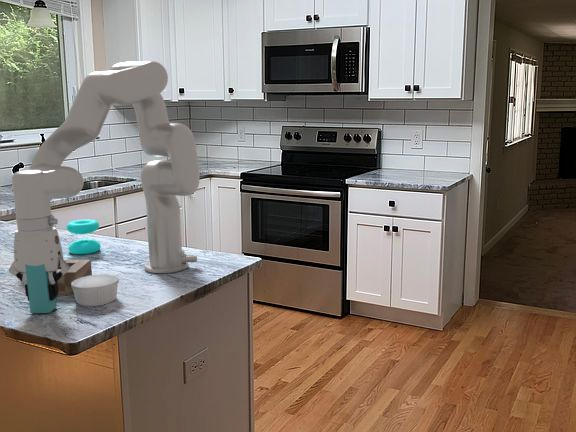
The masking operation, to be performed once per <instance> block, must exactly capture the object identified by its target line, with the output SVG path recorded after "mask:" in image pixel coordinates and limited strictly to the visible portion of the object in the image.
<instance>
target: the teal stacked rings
mask: <svg viewBox="0 0 576 432" xmlns="http://www.w3.org/2000/svg"><path fill="white" fill-rule="evenodd" d="M99 223H100V222H98V221H97V220H95V219H88V218H86V219H83V218H82V219H77V220H72V221H69V222H68V223H67V225H66V230H67V231H68V232H69V233H70V234H74V235H87V234H88V235H89V234H92V233H94V232H96V231H97V230H98V229H99V228H100V227H99V226H100V224H99ZM100 249H101V244H100V242H99V241H98V240H96V239H94V238H93V239H92V238H83V239H77V240H75V241H72V242H71V243H70V244H69V245H68V251H69V253H71V254H73V255H89V254H94V253H97V252H98V251H100Z"/></svg>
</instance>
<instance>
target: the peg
mask: <svg viewBox="0 0 576 432" xmlns="http://www.w3.org/2000/svg"><path fill="white" fill-rule="evenodd" d="M25 268H26V277H27V286H28V295H29V301H28V302H29V311H30V314H50V313H52V312H53V310H55V309H56V307H58V305H57V303H58V301H57V297H56V298H55V299H54V300H53V301H50V299H49V289H48V285H49V284H50V282H49V279H48V276H47V272H46V271H45V265H44V264H42V265H39V266H30V265H26V264H25Z"/></svg>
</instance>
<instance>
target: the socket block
mask: <svg viewBox="0 0 576 432" xmlns="http://www.w3.org/2000/svg"><path fill="white" fill-rule="evenodd" d="M64 261H65V262H66V263H67V264H68V265H69V266H70V268H71V269H70V270H69V271H68V272H67V273H65V274H64V275H63V276H62V277H61V278H60V279H59V280H58V281H57V283H58V295H57V296H70V295H71V296H75V295H74V292H73V289H72V287H71V283H72V282H73V281H74V280H76V279H79V278H82V277H85V276H90V275H93V273H92V270H93V269H92V260H91V259H64ZM59 271H61V267H58V269H57V273H58V272H59Z"/></svg>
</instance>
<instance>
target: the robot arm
mask: <svg viewBox="0 0 576 432" xmlns="http://www.w3.org/2000/svg"><path fill="white" fill-rule="evenodd" d="M168 81H169V76H168V72H167V70H166V68H165V66H163V64H161V63H160V62H157V61H154V60H145V61H143V60H142V61H125V62H118V63H116V64H113V65H112V66H111V67H110V69H109V70H102V71H101V70H100V71H94V72H90V73H89V74H87V75H85V76H84V79H83V80H82V82H81V85H80V87H79V89H78V91H77V93H76V96H75V98H74V100H73V102H72V105H71V107H70V109H69V111H68V114H67V116H66V118H65V120H64V121H63V123H62V124H61V125H60V126H59V127H57V128H56V129H55V130H54V131H53V132H52V133H51V134H50V135H49V136H48V137H47V138H46V139H45V140H44V141H43V142H42V144H41V145H40V146H39V148H38V149H37V151H36V153H35V155H34V158H33V160H32V162H31V164H30V166H29V169H27V170H26V169H25V170H19V171H16V172H14V173H13V175H12V177H11V183H12V192H13V193H12V195H13V202H14V209H15V210H14V211H15V220H16V228H17V229H16V230H15V231H14V237H13V261H12V263H11V265H10V266H9V268H8V272H9V273H10V274H12V275H13V276H15V277H16V278H17V279H18V280H19V281H20V282H21V284H22V285H24V291H25V296H26V297H27V301H28V302H29V295H28V286H27V277H26V268H25V264H26V265H30V266H39V265H42V264H44V265H45V271H46V272H47V276H48V279H49V282H50V284H49V285H48V289H49V299H50V301H53V300H54V299H55V298H56V299H57V297H58V296H59V295H58V283H57V281H58V280H59V279H60V278H61V277H62V276H63V275H64V274H65V273H67V272H68V271H69V270H70V269H71V268H70V266H69V265H68V264H67V263H66V262H65V261H64V260H65V259H64V253H63V248H62V243H61V242H62V241H61V239H60V234H59V232H58V230H57V227H52V226H53V225H54V224H55V225H58V222H59V221H58V219H57V218H55V219H54V218H52V215H53V214H52V208H51V201H50V200H54V199H55V200H56V199H70V198H73V197H75V196H77V195H79V193H81V192H82V189H83V187H84V183H85V181H84V177H83V175H82V174H81V172H80V171H79V170H77V169H76V168H73V167H70V166H66V165H65V166H63V165H62V164H63V163H64V161H65V160H66V159H67V158H68V156H70V155H71V154H72V153H73V152H74V151H75V150H78V149H79V148H83V147H84V146H86V145H88V144H90V143H92V142H93V141H96V139H97V138H98V137H99V136H100V133H101V131H102V129H103V126H104V124H105V122H106V119H107V117H108V114H109V112H110V111H111V109H112V107H113V106H114V107H115V106H116V107H117V106H118V107H119V106H123V107H124V106H129V105H132V106H133V108H134V112H135V116H136V123H137V130H138V135H139V140H140V141H139V143H140V146H141V149H142V151H143V152H144V154H145V155H148V156H151V157H159V158H169V159H170V160H163V159H158V160H157V159H156V160H151V161H149V162H147V163H146V164H145V165H144V166H143V168H142V169H141V173H140V182H141V186H142V191H143V195H144V200H145V207H146V225H147V243H148V260H149V261H148V262H146V263H144V270H145V271H146V272H149V273H152V274H171V273H177V272H181V271H184V270H186V269H187V268H188V267H189V263H197V262H198V256H197V255H195V254H186V253H185V249H183V244H182V242H183V241H182V225H181V224H182V223H181V221H182V220H181V208H180V203H179V200H178V198H177V197H178V196H179V197H188V196H192V195H193V194H195V193H196V192H197V189H198V188H199V185H200V169H199V168H200V167H199V161H198V152H197V146H196V145H197V144H196V140H195V137H194V133H193V132H192V130H191V129H190V128H189V127H188V126H187V125H185V124H184V123H179V122H170V120H169V116H168V111H167V105H166V102H165V100H164V98H163V95H162V92H163V91H164V90H165V89H166V87H167V85H168ZM51 214H52V215H51ZM58 267H61V271H59V272H58V273H57V269H58Z"/></svg>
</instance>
